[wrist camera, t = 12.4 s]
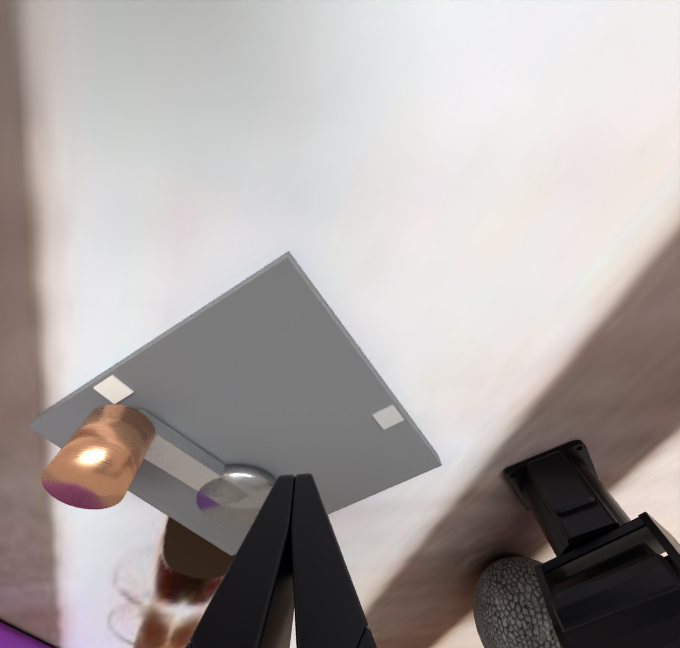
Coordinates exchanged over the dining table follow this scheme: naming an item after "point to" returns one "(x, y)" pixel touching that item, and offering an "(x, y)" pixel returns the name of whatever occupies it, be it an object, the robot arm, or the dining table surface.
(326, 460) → the mount plate
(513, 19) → the dining table surface
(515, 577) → the decorative ball
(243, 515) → the crank
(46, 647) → the shopping bag
